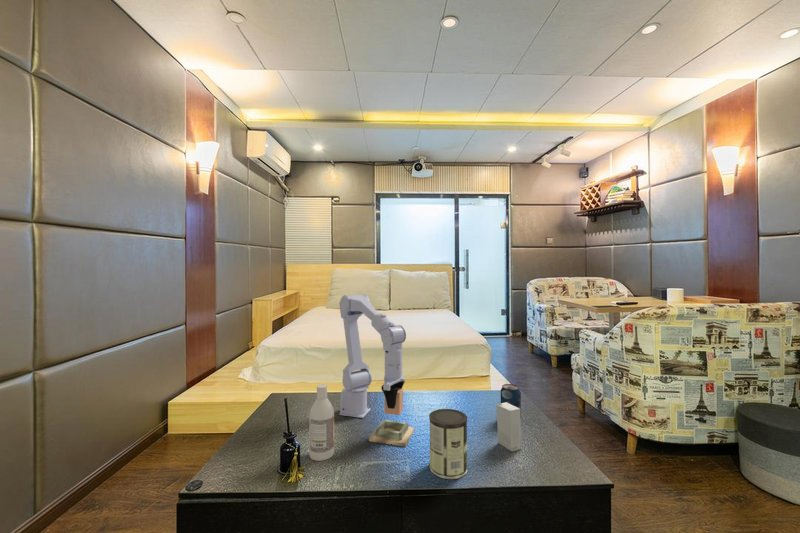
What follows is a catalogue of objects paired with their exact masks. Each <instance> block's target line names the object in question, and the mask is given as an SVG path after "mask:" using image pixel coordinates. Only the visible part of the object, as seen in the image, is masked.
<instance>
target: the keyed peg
mask: <svg viewBox="0 0 800 533" xmlns="http://www.w3.org/2000/svg"><path fill="white" fill-rule="evenodd" d="M403 411H404V389H403V388H402V389H399V390H398V393H397V397H396V404H395V408H394V409H391V408H388V406H387V402H386V398H385V397H384V414H386V415H394V416H400V415H401V414H402V412H403Z"/></svg>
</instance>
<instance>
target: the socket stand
mask: <svg viewBox="0 0 800 533" xmlns="http://www.w3.org/2000/svg"><path fill="white" fill-rule="evenodd" d="M415 431H416V430H415V426H414V427H413V426H409V423H408V422H404V421H395V420H389V419H383V420H382V421H381V422H380V423H379V424H378V426H377V427H376V428H375V429H374V431H372V433H371V434H370V436H369V437H368V441H369V442H373V443H380V444H384V443H385V444H386V445H391V444H392V445H391V446H399V447H407V445H408V444H409V441H410V440H411V438H412V436H413V434H414V432H415Z"/></svg>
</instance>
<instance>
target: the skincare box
mask: <svg viewBox="0 0 800 533" xmlns="http://www.w3.org/2000/svg"><path fill="white" fill-rule="evenodd" d="M496 422H497V423H496V424H497V427H496V428H497V443H498V445H501V446H503V447H504V448H505V449H506V450H509V451H510V452H516V451H518V450H521V449H522V429H521V427H522V424H521V419H520V409H519V408H517V407H515V406H513V405H511V404H509V403H507V402H505V403H501V402H500V403H498V404H496Z"/></svg>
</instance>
